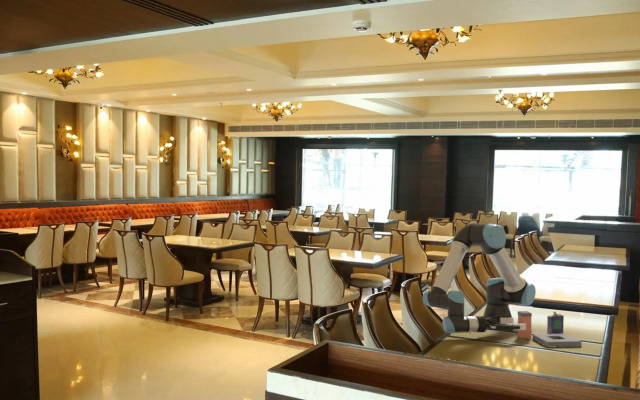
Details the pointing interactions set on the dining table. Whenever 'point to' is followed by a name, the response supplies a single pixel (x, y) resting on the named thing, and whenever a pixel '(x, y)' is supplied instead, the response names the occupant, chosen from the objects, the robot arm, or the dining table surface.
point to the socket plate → (557, 340)
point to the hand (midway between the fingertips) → (519, 323)
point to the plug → (524, 318)
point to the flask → (555, 324)
